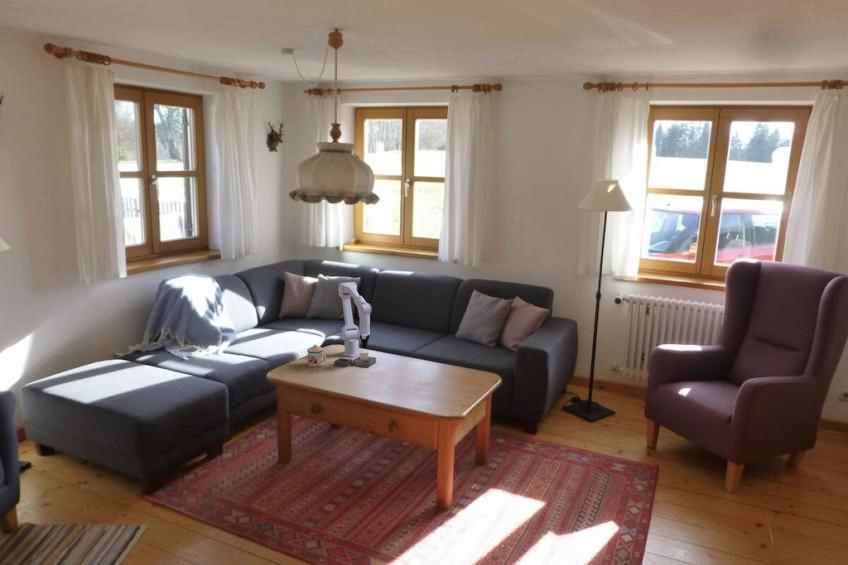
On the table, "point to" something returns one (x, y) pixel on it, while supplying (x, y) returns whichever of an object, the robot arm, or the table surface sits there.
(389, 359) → the table surface
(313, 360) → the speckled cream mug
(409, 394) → the table surface
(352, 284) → the robot arm
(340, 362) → the grey hollow square frame
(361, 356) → the plug
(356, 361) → the port
